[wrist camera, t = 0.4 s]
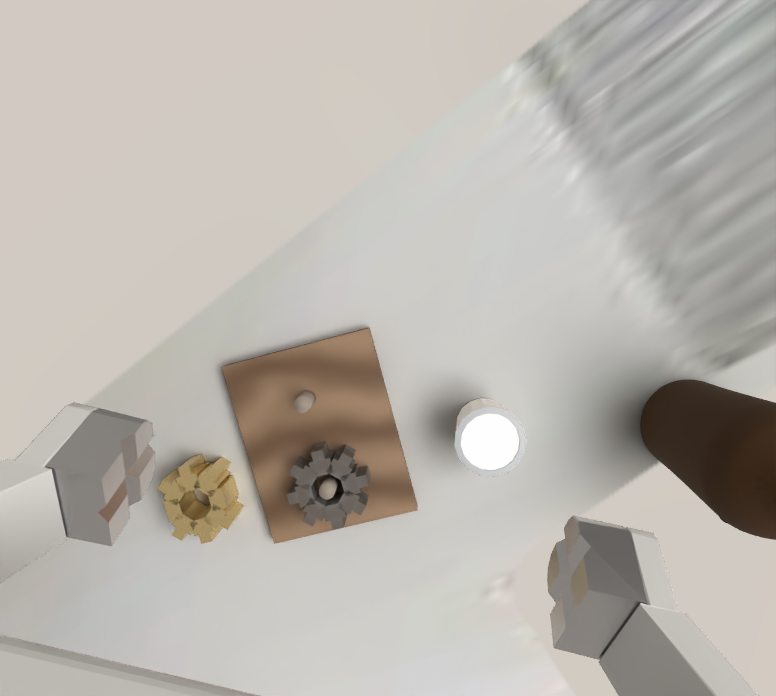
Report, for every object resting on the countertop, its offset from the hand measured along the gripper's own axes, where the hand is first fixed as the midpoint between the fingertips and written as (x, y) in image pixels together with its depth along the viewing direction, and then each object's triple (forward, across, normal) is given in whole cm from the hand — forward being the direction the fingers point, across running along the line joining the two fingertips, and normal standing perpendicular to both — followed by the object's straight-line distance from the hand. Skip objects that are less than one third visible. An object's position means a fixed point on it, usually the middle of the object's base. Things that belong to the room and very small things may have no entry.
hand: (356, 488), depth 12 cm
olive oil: (+44, +31, -28) cm, 61 cm away
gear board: (+40, -6, -37) cm, 54 cm away
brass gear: (+35, -17, -45) cm, 60 cm away
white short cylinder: (+42, +10, -32) cm, 54 cm away
